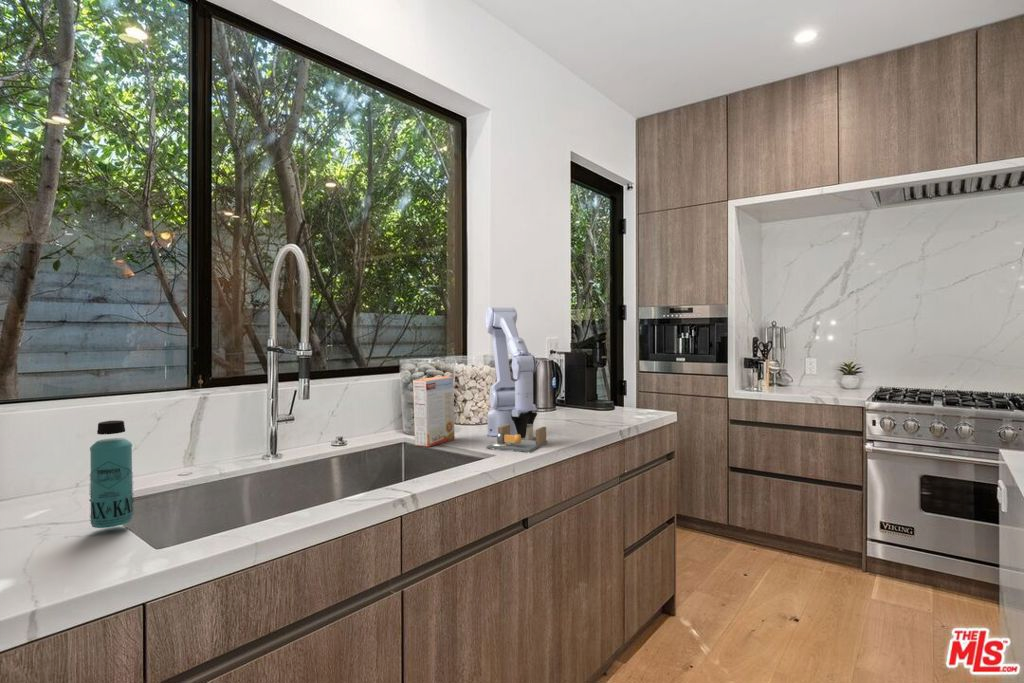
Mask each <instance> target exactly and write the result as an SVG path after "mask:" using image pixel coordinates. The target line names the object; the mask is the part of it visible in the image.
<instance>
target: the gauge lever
mask: <svg viewBox="0 0 1024 683" xmlns="http://www.w3.org/2000/svg"><path fill="white" fill-rule="evenodd" d="M504 442H512V443H517V444H519V443H521V435H519V434H517V435H515V436H514V435H507V434H506V435H504Z"/></svg>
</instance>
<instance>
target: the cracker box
mask: <svg viewBox="0 0 1024 683" xmlns="http://www.w3.org/2000/svg"><path fill="white" fill-rule="evenodd" d="M412 395H413V424H414V425H413V426H414V427H413V428H414V429H413V430H414V446H417V447H425V448H429V447H433V446H436V445H439V444H443V443H447V442H449V440H450V441H453V440H455V410H454V409H455V405H454V403H455V402H454V398H455V396H454V377H453V376H444V375H443V376H435V377H427V378H419V379H414V380H412ZM452 439H453V440H452Z"/></svg>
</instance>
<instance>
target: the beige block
mask: <svg viewBox="0 0 1024 683" xmlns="http://www.w3.org/2000/svg"><path fill="white" fill-rule="evenodd" d="M516 432H517V430H516ZM533 437H534V423H533V424H527V428H526V436H525V438H521V440H533Z"/></svg>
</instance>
